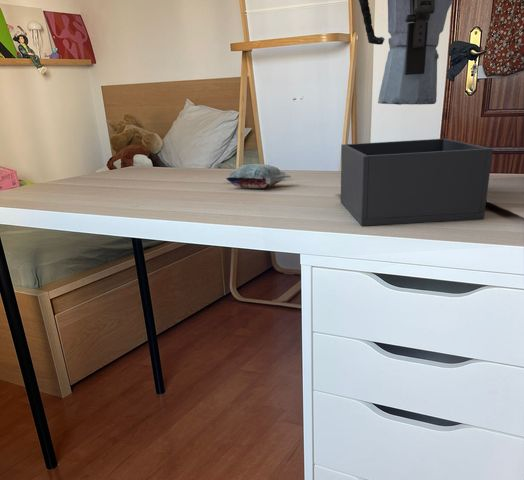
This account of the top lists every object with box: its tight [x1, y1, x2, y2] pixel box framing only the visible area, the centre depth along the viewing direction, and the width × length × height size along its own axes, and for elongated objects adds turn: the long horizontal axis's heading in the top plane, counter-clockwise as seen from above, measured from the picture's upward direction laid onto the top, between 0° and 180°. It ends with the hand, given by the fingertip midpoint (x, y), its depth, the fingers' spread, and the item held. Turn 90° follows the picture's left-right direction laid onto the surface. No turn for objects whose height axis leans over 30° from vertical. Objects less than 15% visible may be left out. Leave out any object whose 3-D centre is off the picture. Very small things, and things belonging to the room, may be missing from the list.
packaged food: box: [225, 163, 291, 189], centre depth 117 cm, size 9×12×5 cm
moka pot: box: [358, 0, 454, 106], centre depth 79 cm, size 10×15×20 cm, turn 79°
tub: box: [340, 138, 494, 227], centre depth 86 cm, size 19×20×10 cm
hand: (406, 75), depth 82 cm, fingers closed on moka pot, 8 cm apart
